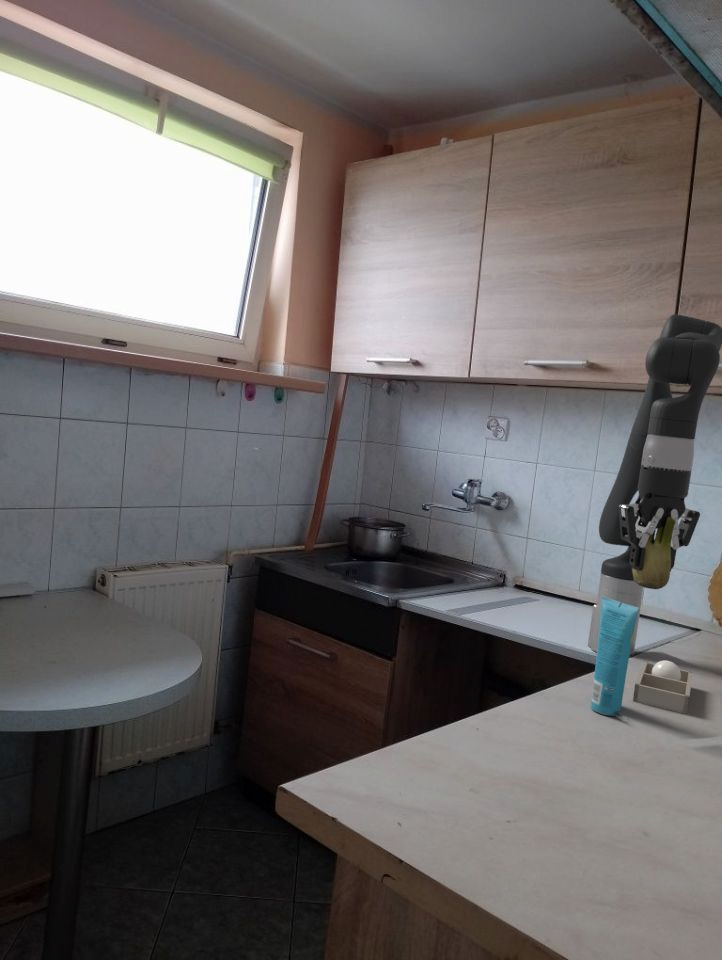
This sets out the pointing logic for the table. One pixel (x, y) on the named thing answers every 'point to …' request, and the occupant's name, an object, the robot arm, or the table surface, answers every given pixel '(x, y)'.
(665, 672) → the ceramic egg
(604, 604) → the tube
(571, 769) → the table surface
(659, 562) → the fennel bulb
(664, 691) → the tray
